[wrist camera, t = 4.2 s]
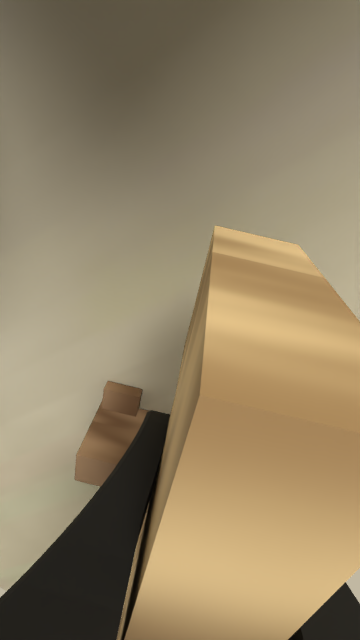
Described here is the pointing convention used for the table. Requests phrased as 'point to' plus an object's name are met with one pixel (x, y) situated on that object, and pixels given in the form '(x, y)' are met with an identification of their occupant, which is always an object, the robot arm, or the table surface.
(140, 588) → the tan tapered flat block
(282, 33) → the table surface
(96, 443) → the walnut rail
